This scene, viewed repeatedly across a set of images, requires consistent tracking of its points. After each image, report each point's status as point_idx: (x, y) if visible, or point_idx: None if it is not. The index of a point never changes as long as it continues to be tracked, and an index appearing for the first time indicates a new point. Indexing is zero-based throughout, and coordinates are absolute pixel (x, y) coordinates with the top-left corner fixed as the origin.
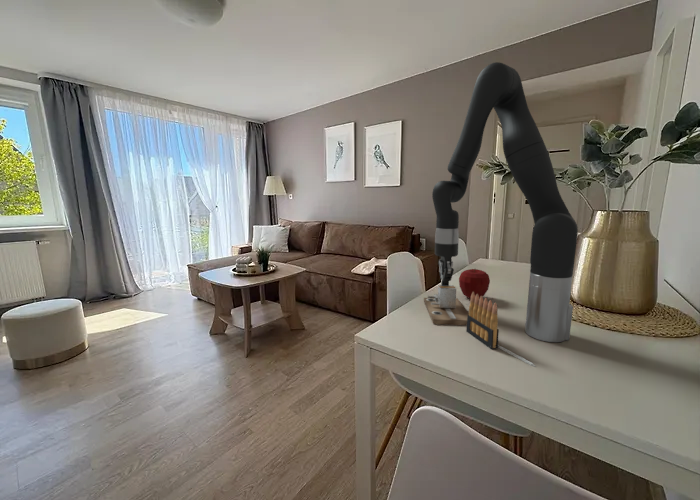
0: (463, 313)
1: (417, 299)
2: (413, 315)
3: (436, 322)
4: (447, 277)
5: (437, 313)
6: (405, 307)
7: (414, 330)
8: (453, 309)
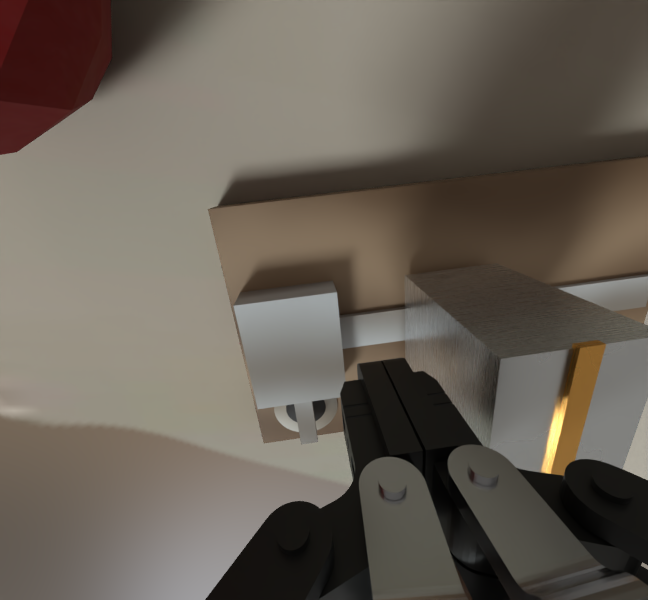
0: (564, 211)
1: (233, 454)
2: None
3: None
4: (640, 565)
5: None
6: None
7: (644, 437)
8: None
